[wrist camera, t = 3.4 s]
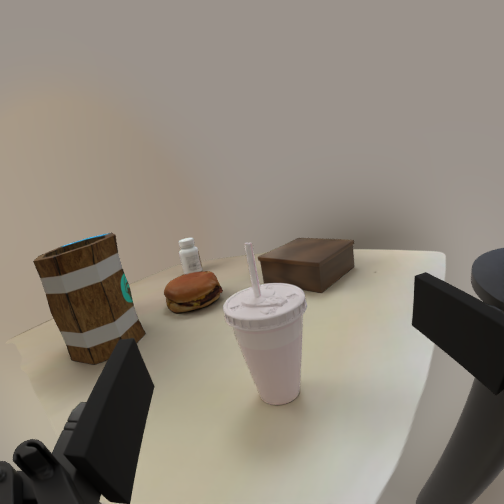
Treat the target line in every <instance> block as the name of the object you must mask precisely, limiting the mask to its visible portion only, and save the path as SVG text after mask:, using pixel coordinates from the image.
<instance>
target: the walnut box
mask: <svg viewBox="0 0 504 504" xmlns="http://www.w3.org/2000/svg"><path fill="white" fill-rule="evenodd" d="M353 244H354V240H341V239H317V238H316V239H314V238H297V239H295V240H293V241H291V242H289V243H287V244H285V245H283V246H280V247H278V248H276V249H274V250H272V251H270V252H267V253H265V254H263V255H261V256H259V257H258V260H259V261H260V263H261V268H262V274H263V280H264V283H266V284H268V283H286V284H291V285H295V286H297V287H299V288H301V289H302V290H307V291H313V292H319V293H322V292H323V291H325V290H326V289H327V288H328V287H330V286H331V285H332V284H333V283H335V282H336V281H337V280H338V279H340V278H341V277H342V276H343V275H344V274H346V273H347V272H348V271H349V270H350V269H352V268H353V267H354V255H353Z"/></svg>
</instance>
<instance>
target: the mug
mask: <svg viewBox="0 0 504 504" xmlns="http://www.w3.org/2000/svg"><path fill="white" fill-rule="evenodd" d="M33 262H34V264H35V266H36V269H37V271H38V273H39V276H40V278H41V281H42V285H43V287H44V290H45V293H46V297H47V300H48V304H49V307H50V311H51V314H52V316H53V318H54V320H55V322H56V324H57V326H58V328H59V330H60V332H61V334H62V337H63V339H64V341H65V343H66V346H67V349H68V352H69V354H70V357H71V360H73V361H78V362H83V363H89V364H97V363H100V362H103V361H106V360H108V359H109V357H110V355H111V354H112V352H113V350H114V348H115V346H116V344H117V342H118V341H119V340H121V339H129V338H134V339H135V341H136V343H137V342H138V341H139V340H140V339H141V338H142V337H143V336H144V335H145V334H146V333H145V331H144V329H143V327H142V325H141V323H140V321H139V319H138V316H137V314H136V311H135V308H134V304H133V300H132V296H131V291H130V287H129V284H128V282H127V279H126V277H125V274H124V272H123V269H122V266H121V262H120V258H119V255H118V250H117V243H116V236H115V234H113V233H108V234H103V235H99V236H94V237H90V238H86V239H83V240H80V241H77V242H74V243H71V244H68V245H65V246H61V247H59V248H57V249H54V250H52V251H49V252H47V253H45V254H42V255H40V256H38V258H36V259H35V260H34V261H33Z"/></svg>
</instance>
